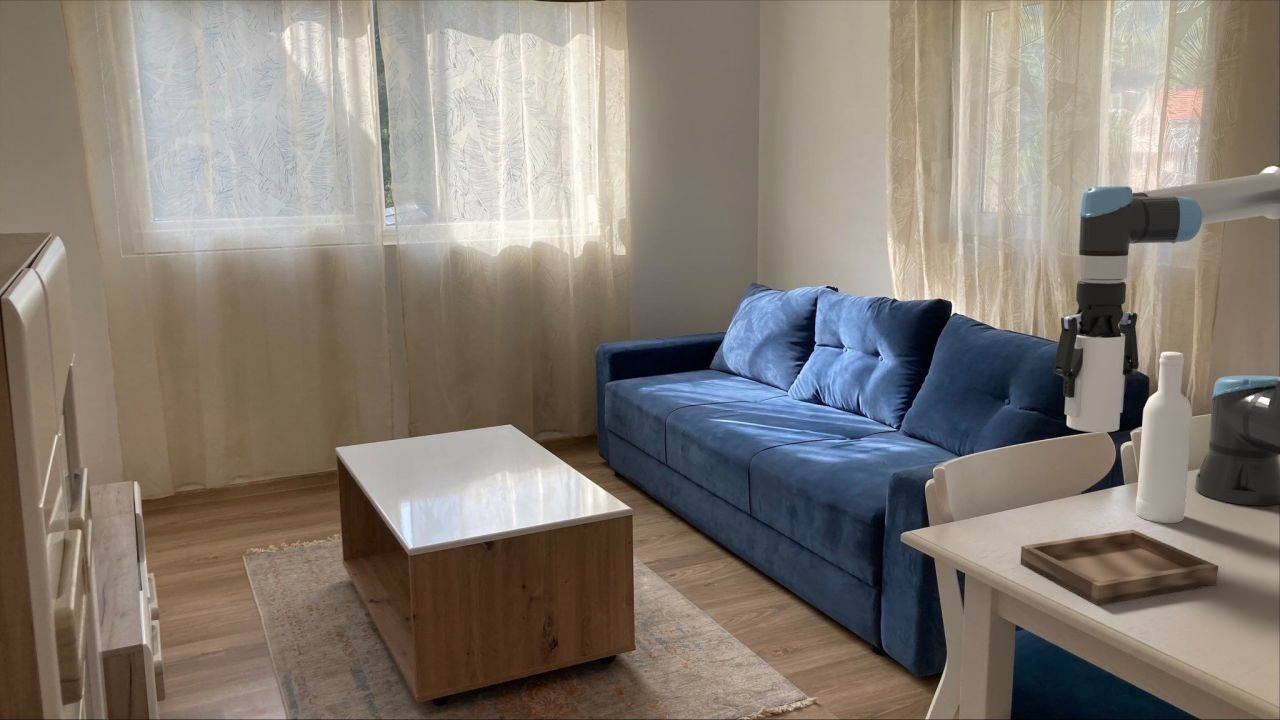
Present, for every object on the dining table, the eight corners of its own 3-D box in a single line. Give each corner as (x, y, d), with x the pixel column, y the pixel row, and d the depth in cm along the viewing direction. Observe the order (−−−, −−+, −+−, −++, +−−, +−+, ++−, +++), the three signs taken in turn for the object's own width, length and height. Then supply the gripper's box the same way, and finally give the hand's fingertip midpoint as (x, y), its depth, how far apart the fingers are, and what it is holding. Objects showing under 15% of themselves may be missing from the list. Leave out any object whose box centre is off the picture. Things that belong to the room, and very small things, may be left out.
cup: (1124, 433, 169) (1131, 338, 166) (1072, 431, 171) (1077, 337, 168) (1112, 421, 177) (1118, 330, 174) (1062, 420, 179) (1067, 329, 176)
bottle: (1194, 522, 181) (1208, 356, 176) (1153, 524, 180) (1166, 358, 175) (1165, 507, 189) (1178, 348, 183) (1126, 510, 188) (1137, 350, 182)
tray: (1131, 546, 170) (1132, 529, 169) (1216, 584, 154) (1218, 565, 153) (1020, 563, 163) (1021, 545, 163) (1097, 605, 147) (1098, 585, 147)
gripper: (1135, 275, 176) (1127, 403, 180) (1033, 281, 170) (1027, 414, 174) (1170, 279, 169) (1160, 412, 173) (1064, 285, 163) (1057, 423, 167)
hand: (1093, 413), depth 173 cm, fingers closed on cup, 8 cm apart
